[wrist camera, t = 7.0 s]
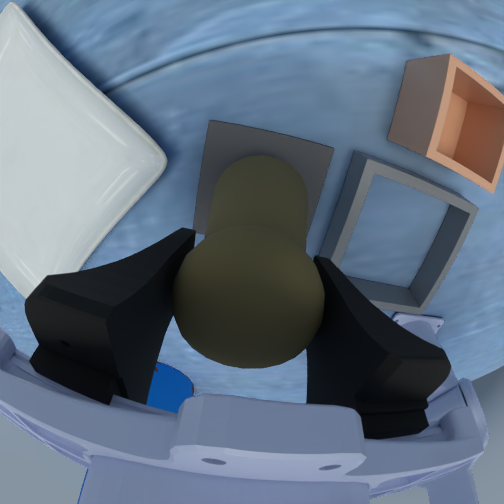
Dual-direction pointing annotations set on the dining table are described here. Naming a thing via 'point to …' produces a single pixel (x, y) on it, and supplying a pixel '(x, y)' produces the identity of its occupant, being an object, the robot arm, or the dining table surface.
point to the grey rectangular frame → (439, 254)
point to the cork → (251, 270)
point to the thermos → (166, 391)
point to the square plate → (60, 158)
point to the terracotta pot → (451, 118)
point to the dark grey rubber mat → (253, 144)
